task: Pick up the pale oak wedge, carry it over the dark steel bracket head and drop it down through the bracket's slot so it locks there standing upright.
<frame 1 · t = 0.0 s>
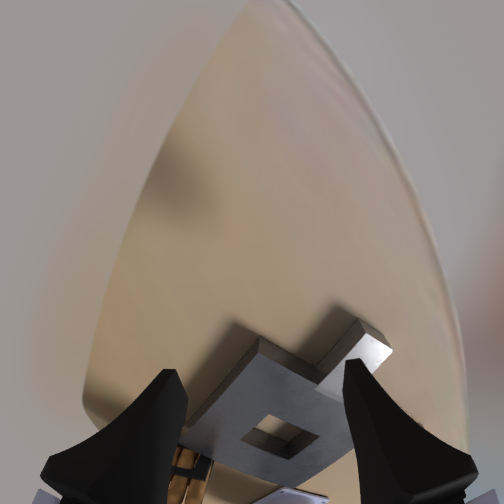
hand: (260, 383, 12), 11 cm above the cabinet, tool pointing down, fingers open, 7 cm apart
steel bracket head: (280, 421, 25), on the cabinet
ammunition clip: (169, 439, 27), on the cabinet
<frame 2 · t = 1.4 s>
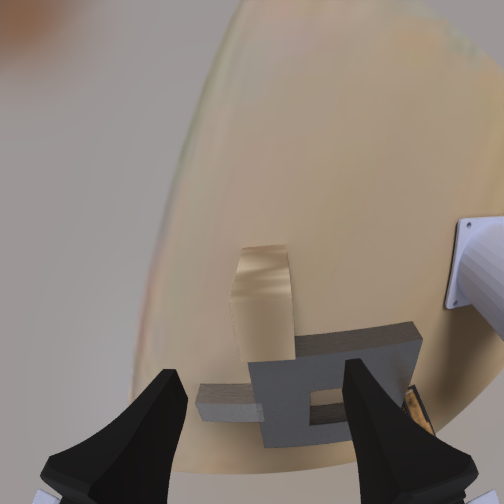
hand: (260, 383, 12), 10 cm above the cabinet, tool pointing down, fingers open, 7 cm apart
steel bracket head: (331, 387, 26), on the cabinet
oak wedge: (267, 272, 21), on the cabinet
ammunition clip: (416, 407, 27), on the cabinet
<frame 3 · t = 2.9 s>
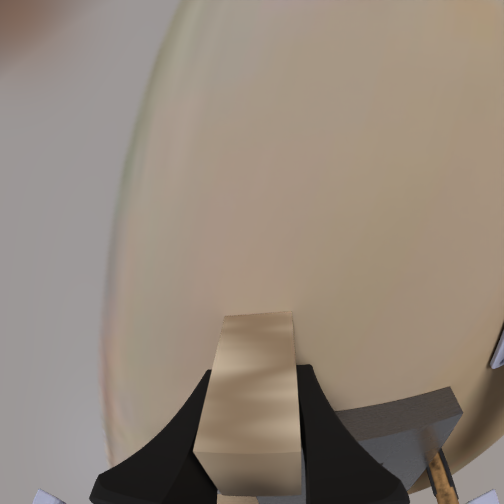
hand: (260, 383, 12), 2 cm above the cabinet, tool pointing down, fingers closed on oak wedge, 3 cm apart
steel bracket head: (343, 457, 18), on the cabinet
oak wedge: (262, 347, 14), on the cabinet, touching gripper
ammunition clip: (436, 458, 20), on the cabinet
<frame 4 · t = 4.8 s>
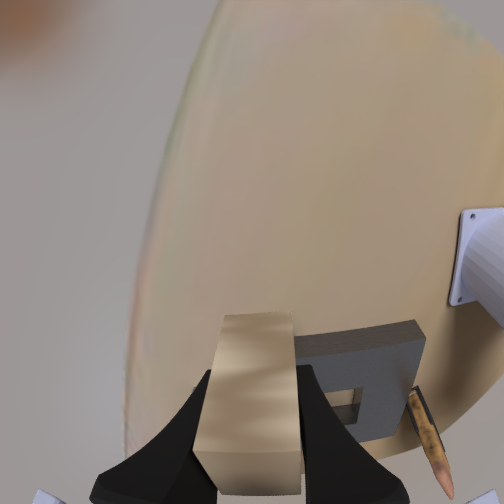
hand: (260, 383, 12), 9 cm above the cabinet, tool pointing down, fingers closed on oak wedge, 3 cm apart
steel bracket head: (330, 390, 24), on the cabinet
oak wedge: (262, 346, 14), point 7 cm above the cabinet, touching gripper
ammunition clip: (419, 408, 26), on the cabinet
when the fingers open (3 cm above the cabinet, at t = 7.0 s): oak wedge stays where it is, resting in steel bracket head.
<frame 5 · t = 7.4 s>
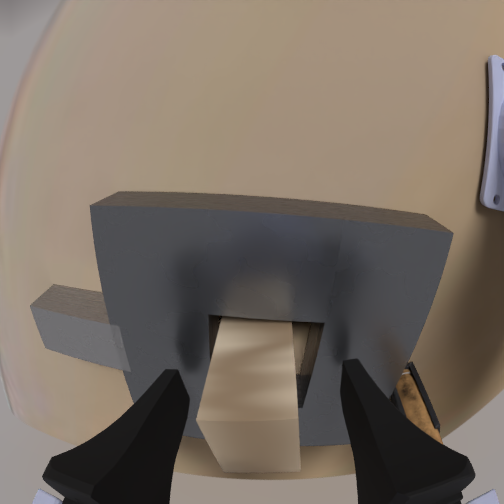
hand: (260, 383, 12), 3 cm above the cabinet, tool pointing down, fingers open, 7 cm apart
steel bracket head: (263, 335, 15), on the cabinet
oak wedge: (262, 330, 15), resting in steel bracket head
ammunition clip: (404, 407, 17), on the cabinet
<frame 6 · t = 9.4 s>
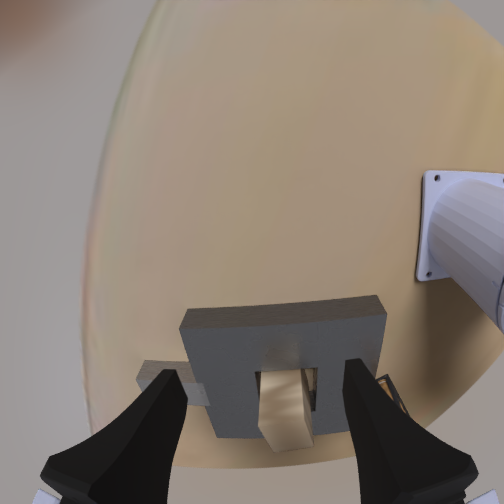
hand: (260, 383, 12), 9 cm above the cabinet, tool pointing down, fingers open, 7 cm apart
steel bracket head: (286, 372, 24), on the cabinet
oak wedge: (285, 369, 23), resting in steel bracket head
ammunition clip: (392, 401, 25), on the cabinet
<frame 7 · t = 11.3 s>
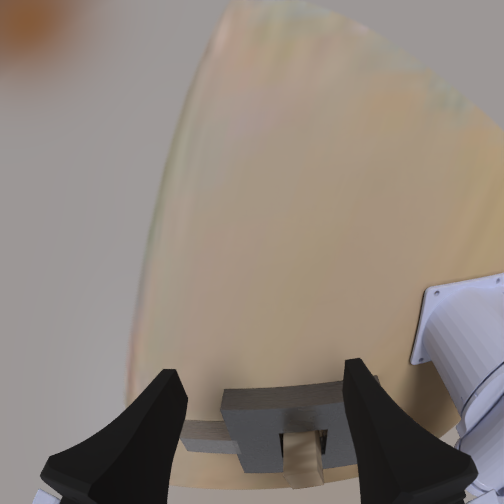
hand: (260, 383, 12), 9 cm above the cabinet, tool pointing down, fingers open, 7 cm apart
steel bracket head: (302, 426, 27), on the cabinet
oak wedge: (301, 424, 27), resting in steel bracket head
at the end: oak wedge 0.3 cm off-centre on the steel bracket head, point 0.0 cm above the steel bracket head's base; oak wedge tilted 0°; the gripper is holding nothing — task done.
